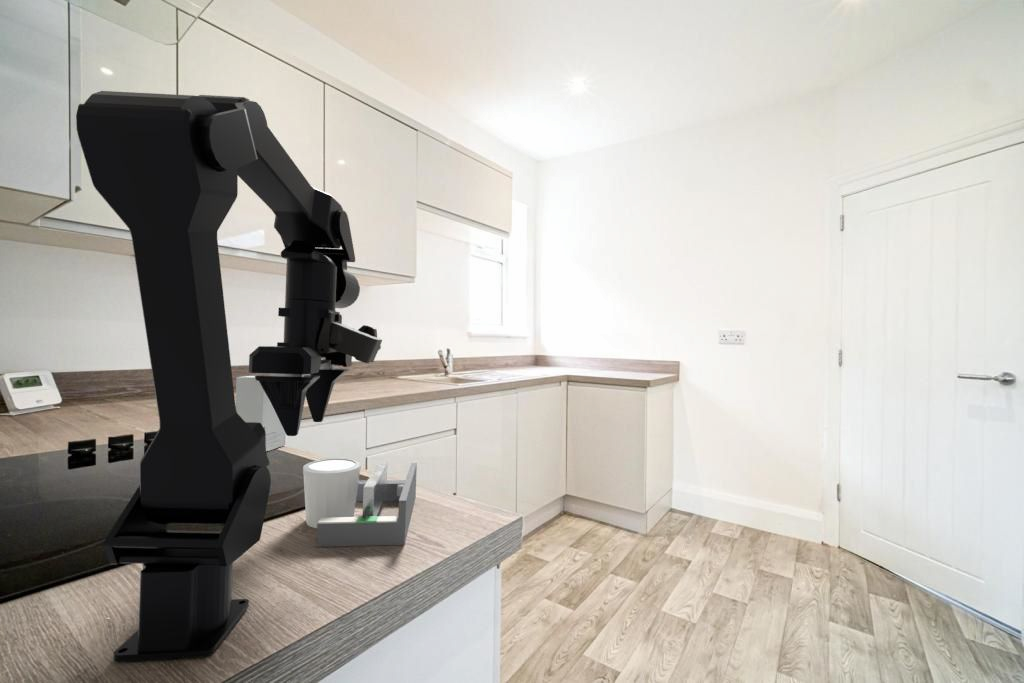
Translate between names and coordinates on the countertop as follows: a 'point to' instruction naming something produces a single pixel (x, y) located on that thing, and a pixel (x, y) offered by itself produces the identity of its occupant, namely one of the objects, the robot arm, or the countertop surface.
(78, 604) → the countertop surface
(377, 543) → the frame
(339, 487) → the white tapered cup
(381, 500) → the flat metal bar
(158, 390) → the robot arm
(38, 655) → the countertop surface
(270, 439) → the skincare box
